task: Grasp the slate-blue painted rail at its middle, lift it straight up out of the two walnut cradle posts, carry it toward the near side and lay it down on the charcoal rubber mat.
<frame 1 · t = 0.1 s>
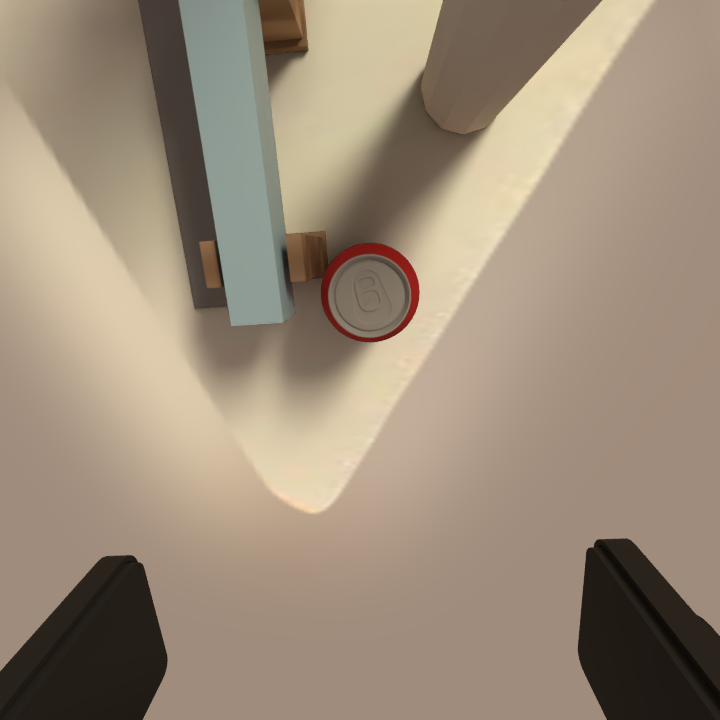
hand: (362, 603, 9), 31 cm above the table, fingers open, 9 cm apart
beverage can: (371, 281, 38), on the table
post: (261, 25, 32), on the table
rail: (246, 121, 27), point 8 cm above the table, touching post, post
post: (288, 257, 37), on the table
water bottle: (469, 77, 33), on the table
mat: (201, 156, 35), on the table
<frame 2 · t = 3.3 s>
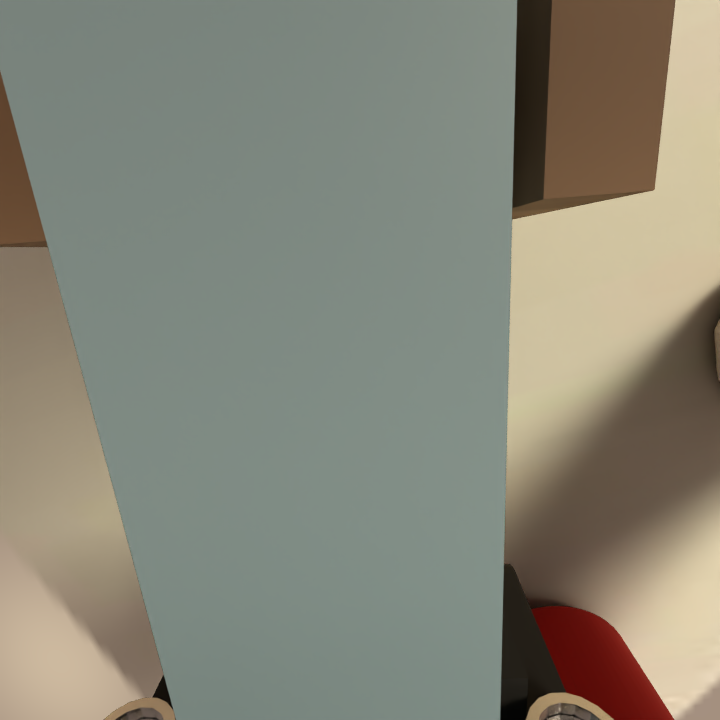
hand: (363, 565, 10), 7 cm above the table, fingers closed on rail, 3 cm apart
beverage can: (542, 643, 19), on the table
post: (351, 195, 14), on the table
rail: (363, 590, 9), point 8 cm above the table, touching gripper, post, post
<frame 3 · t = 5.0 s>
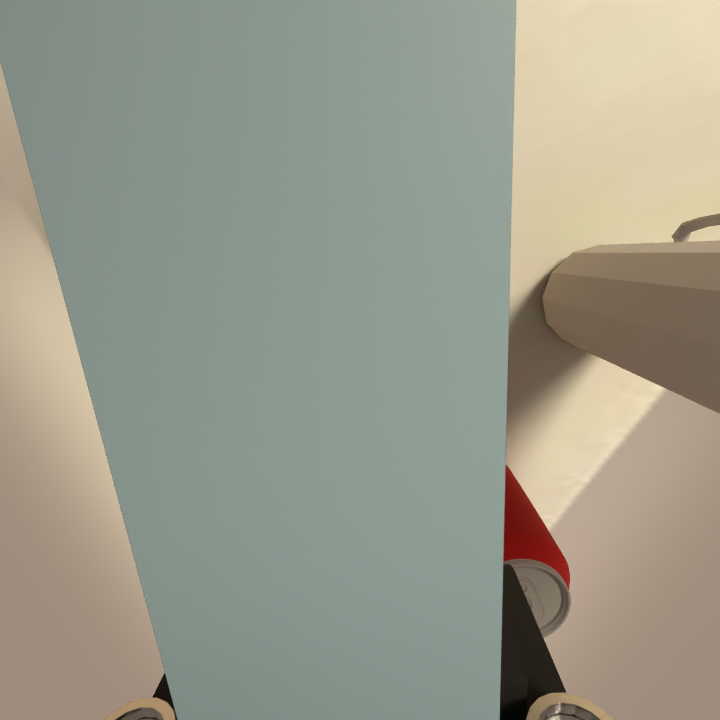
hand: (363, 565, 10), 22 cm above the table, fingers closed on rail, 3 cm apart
beverage can: (470, 482, 34), on the table
rail: (363, 591, 9), point 23 cm above the table, touching gripper
water bottle: (594, 284, 29), on the table
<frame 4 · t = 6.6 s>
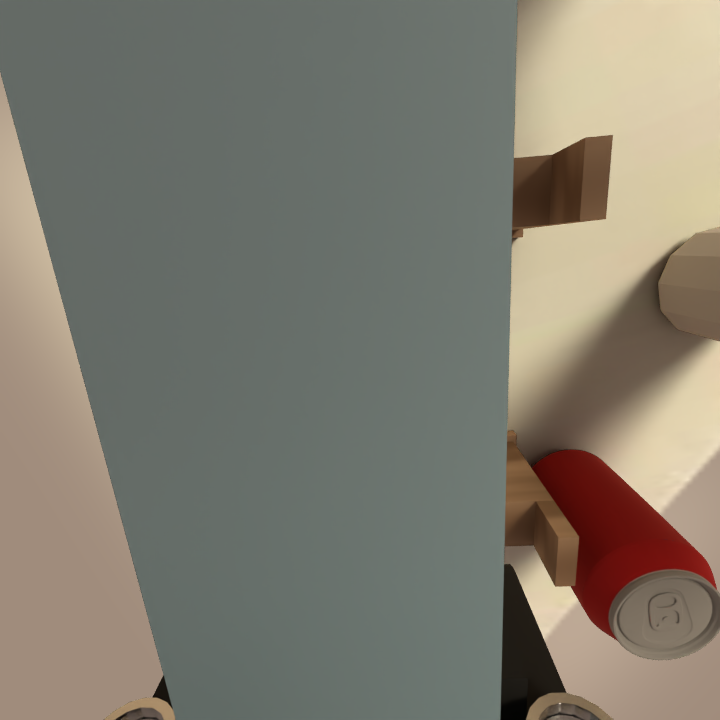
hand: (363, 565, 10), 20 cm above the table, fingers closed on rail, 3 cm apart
beverage can: (561, 481, 32), on the table
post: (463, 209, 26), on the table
rail: (363, 592, 9), point 21 cm above the table, touching gripper
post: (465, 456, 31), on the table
water bottle: (713, 268, 27), on the table
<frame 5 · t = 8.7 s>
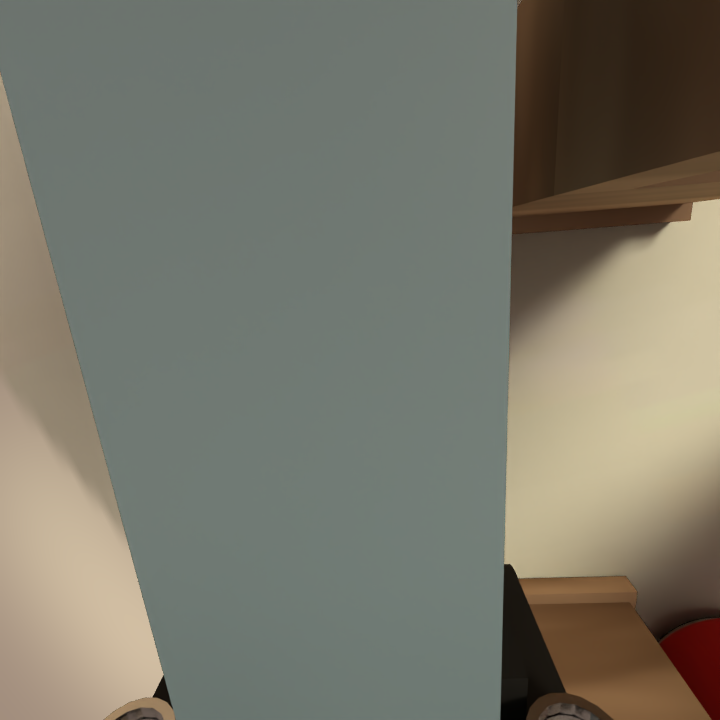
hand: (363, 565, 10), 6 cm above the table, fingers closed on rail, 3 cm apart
beverage can: (702, 655, 18), on the table
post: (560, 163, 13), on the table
rail: (363, 593, 9), point 7 cm above the table, touching gripper
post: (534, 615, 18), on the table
when the fingers open (2 cm above the table, at t = 10.1 s): rail drops 2 cm, resting on mat.
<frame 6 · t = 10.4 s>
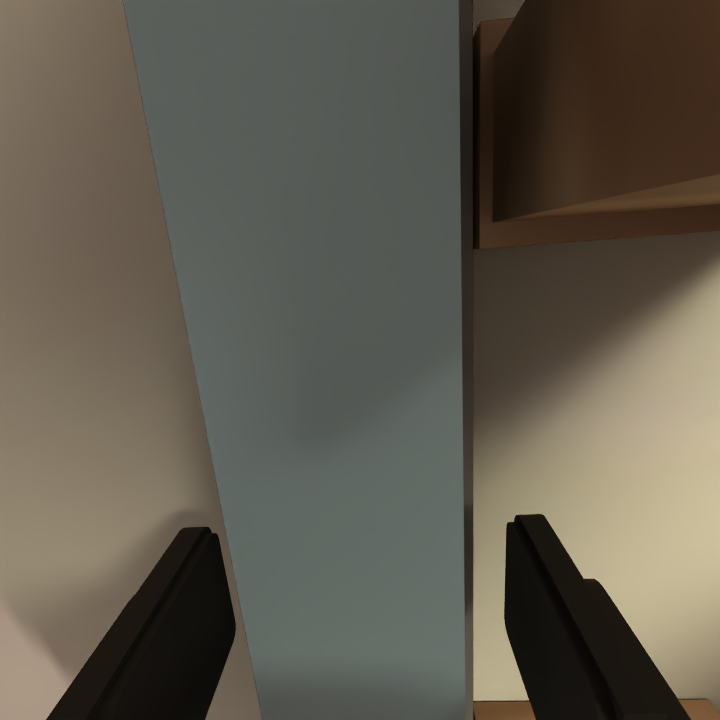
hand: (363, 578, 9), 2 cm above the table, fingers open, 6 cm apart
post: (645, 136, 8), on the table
rail: (366, 530, 11), point 1 cm above the table, touching mat
mat: (365, 517, 11), on the table
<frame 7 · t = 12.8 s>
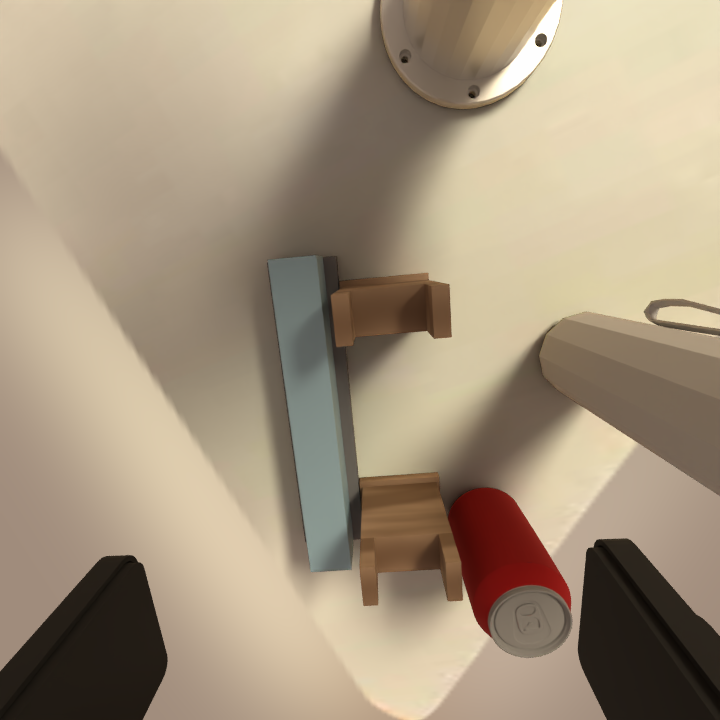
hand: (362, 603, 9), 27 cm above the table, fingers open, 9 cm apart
beverage can: (481, 513, 38), on the table
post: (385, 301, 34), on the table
rail: (319, 410, 35), point 1 cm above the table, touching mat
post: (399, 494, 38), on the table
water bottle: (583, 342, 34), on the table
mat: (320, 408, 36), on the table
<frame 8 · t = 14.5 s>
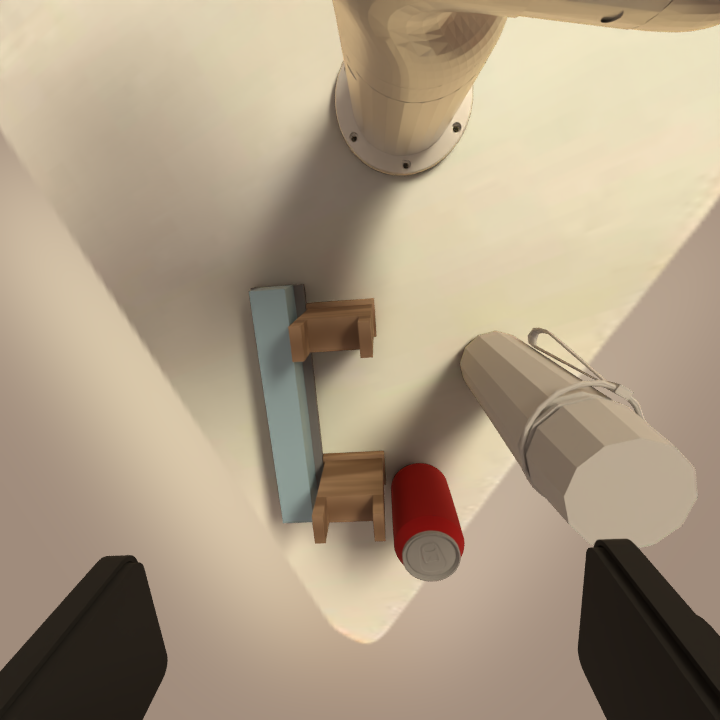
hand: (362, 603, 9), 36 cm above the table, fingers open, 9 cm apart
beverage can: (418, 483, 49), on the table
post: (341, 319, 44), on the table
rail: (291, 401, 46), point 1 cm above the table, touching mat
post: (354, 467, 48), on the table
water bottle: (495, 353, 44), on the table
mat: (292, 400, 46), on the table
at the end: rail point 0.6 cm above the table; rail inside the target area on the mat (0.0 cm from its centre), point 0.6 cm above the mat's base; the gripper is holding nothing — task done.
